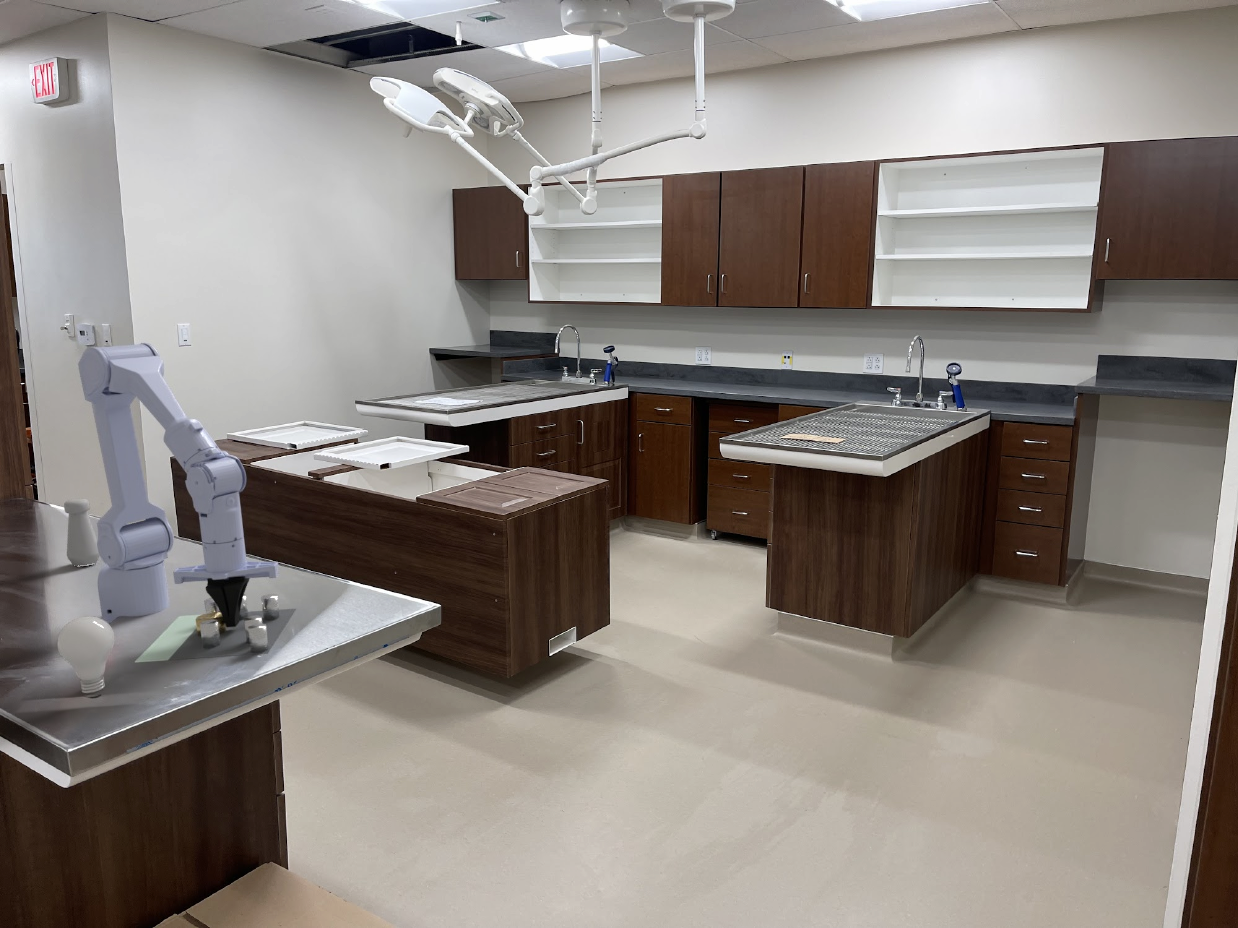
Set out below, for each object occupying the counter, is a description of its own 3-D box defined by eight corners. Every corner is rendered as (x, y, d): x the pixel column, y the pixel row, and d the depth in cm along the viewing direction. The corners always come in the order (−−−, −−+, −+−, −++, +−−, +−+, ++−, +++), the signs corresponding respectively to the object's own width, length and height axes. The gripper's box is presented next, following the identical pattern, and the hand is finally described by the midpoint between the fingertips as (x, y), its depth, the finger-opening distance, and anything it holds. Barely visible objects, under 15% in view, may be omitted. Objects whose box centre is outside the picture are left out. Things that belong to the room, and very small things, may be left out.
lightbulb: (81, 687, 121) (69, 610, 119) (130, 684, 121) (119, 607, 119) (56, 709, 115) (43, 628, 112) (108, 706, 115) (96, 625, 113)
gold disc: (193, 637, 134) (191, 622, 134) (202, 628, 138) (200, 613, 138) (221, 635, 135) (220, 620, 134) (229, 626, 138) (227, 611, 138)
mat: (135, 670, 126) (134, 662, 126) (180, 623, 144) (179, 616, 143) (268, 660, 128) (267, 652, 128) (297, 615, 146) (296, 608, 145)
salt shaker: (108, 562, 177) (99, 498, 174) (78, 570, 172) (68, 504, 170) (92, 558, 180) (83, 495, 177) (62, 566, 175) (52, 501, 173)
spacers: (174, 658, 127) (171, 635, 126) (211, 616, 143) (209, 595, 142) (266, 652, 128) (263, 629, 127) (292, 611, 144) (290, 590, 143)
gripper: (161, 549, 129) (173, 638, 132) (266, 543, 131) (276, 631, 134) (178, 535, 136) (189, 620, 139) (278, 530, 138) (287, 614, 140)
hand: (232, 624), depth 137 cm, fingers closed
